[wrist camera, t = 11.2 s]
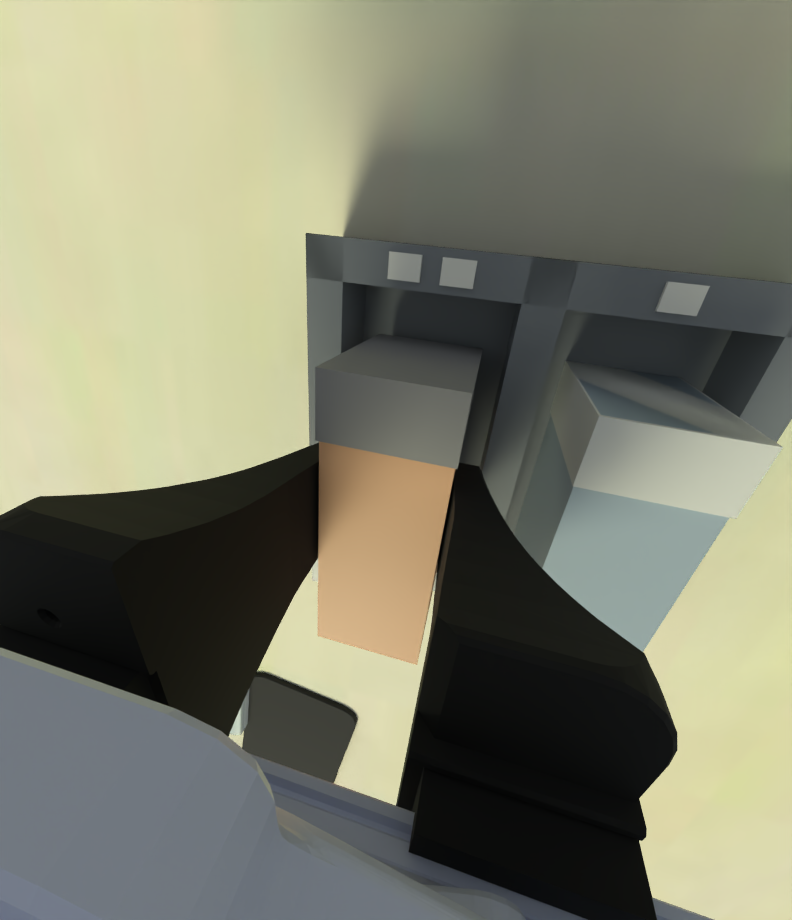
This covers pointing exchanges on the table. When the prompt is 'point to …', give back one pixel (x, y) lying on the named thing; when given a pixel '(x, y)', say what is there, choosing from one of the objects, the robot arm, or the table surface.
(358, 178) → the table surface
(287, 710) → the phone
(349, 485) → the terracotta stub
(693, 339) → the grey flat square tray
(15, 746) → the robot arm
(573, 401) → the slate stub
